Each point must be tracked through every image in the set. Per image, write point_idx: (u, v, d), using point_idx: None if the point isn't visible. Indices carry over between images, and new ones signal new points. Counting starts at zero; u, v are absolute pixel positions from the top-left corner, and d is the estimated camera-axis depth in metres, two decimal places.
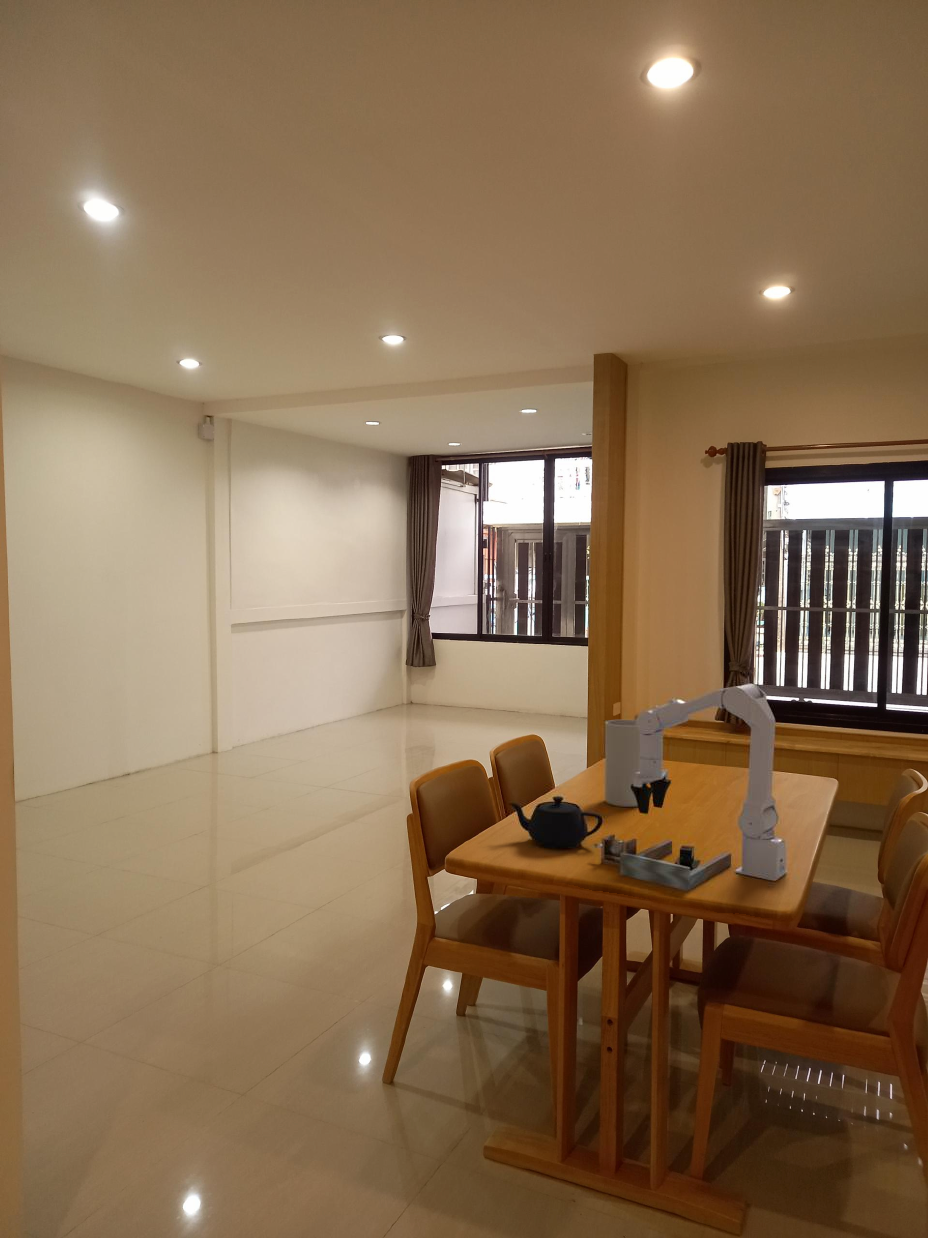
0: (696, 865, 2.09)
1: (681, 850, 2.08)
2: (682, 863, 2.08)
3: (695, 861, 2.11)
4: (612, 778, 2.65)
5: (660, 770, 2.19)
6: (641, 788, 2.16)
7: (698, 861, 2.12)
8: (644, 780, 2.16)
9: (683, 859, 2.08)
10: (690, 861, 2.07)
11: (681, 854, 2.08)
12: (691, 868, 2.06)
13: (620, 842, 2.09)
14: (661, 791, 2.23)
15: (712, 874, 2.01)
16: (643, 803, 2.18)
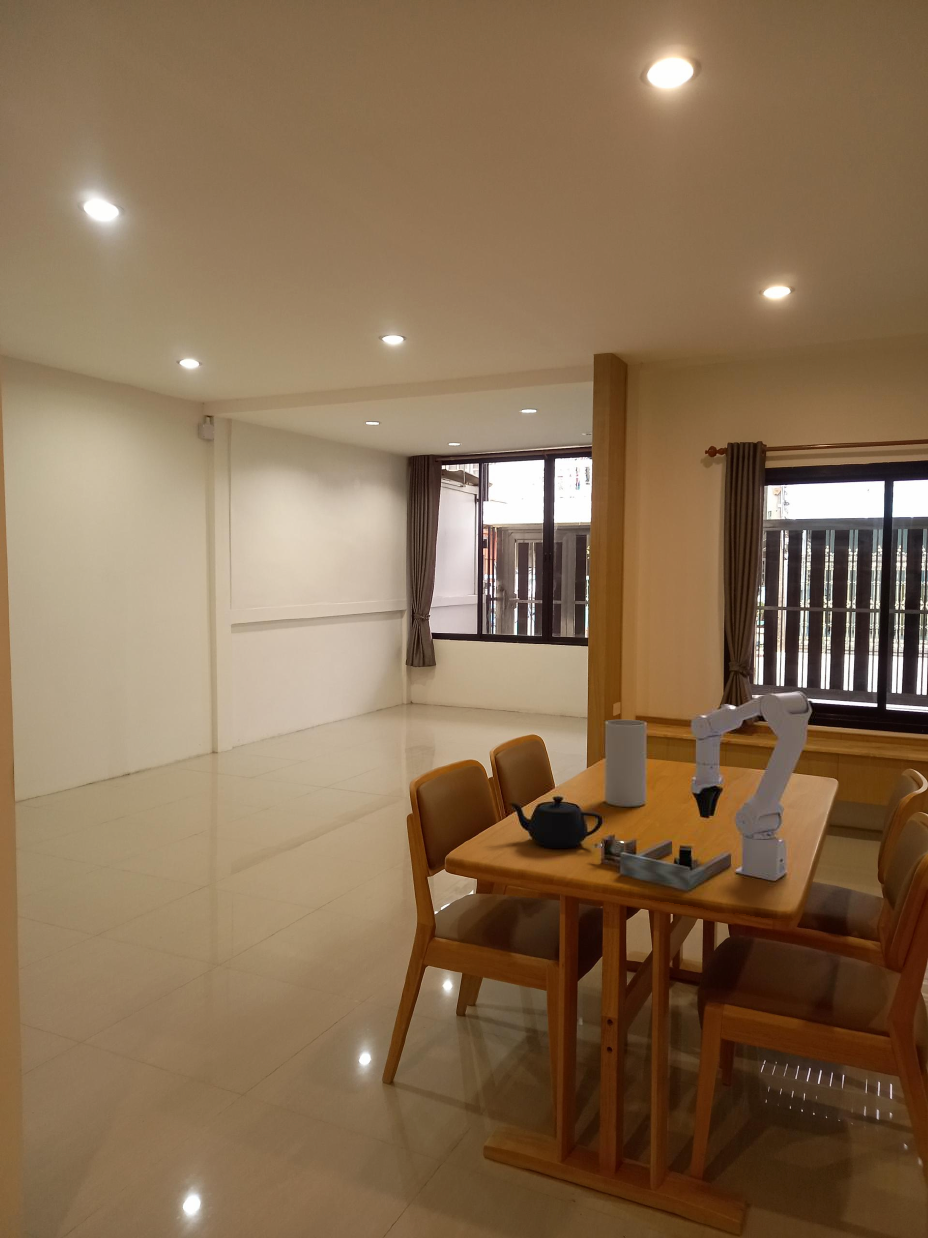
0: (695, 865, 2.09)
1: (680, 850, 2.08)
2: (682, 863, 2.08)
3: (693, 861, 2.11)
4: (612, 778, 2.65)
5: (717, 776, 2.15)
6: (703, 792, 2.14)
7: (696, 860, 2.12)
8: (702, 786, 2.12)
9: (683, 859, 2.08)
10: (690, 861, 2.07)
11: (681, 854, 2.08)
12: (691, 868, 2.06)
13: (620, 842, 2.09)
14: (713, 799, 2.18)
15: (712, 874, 2.01)
16: (704, 807, 2.16)
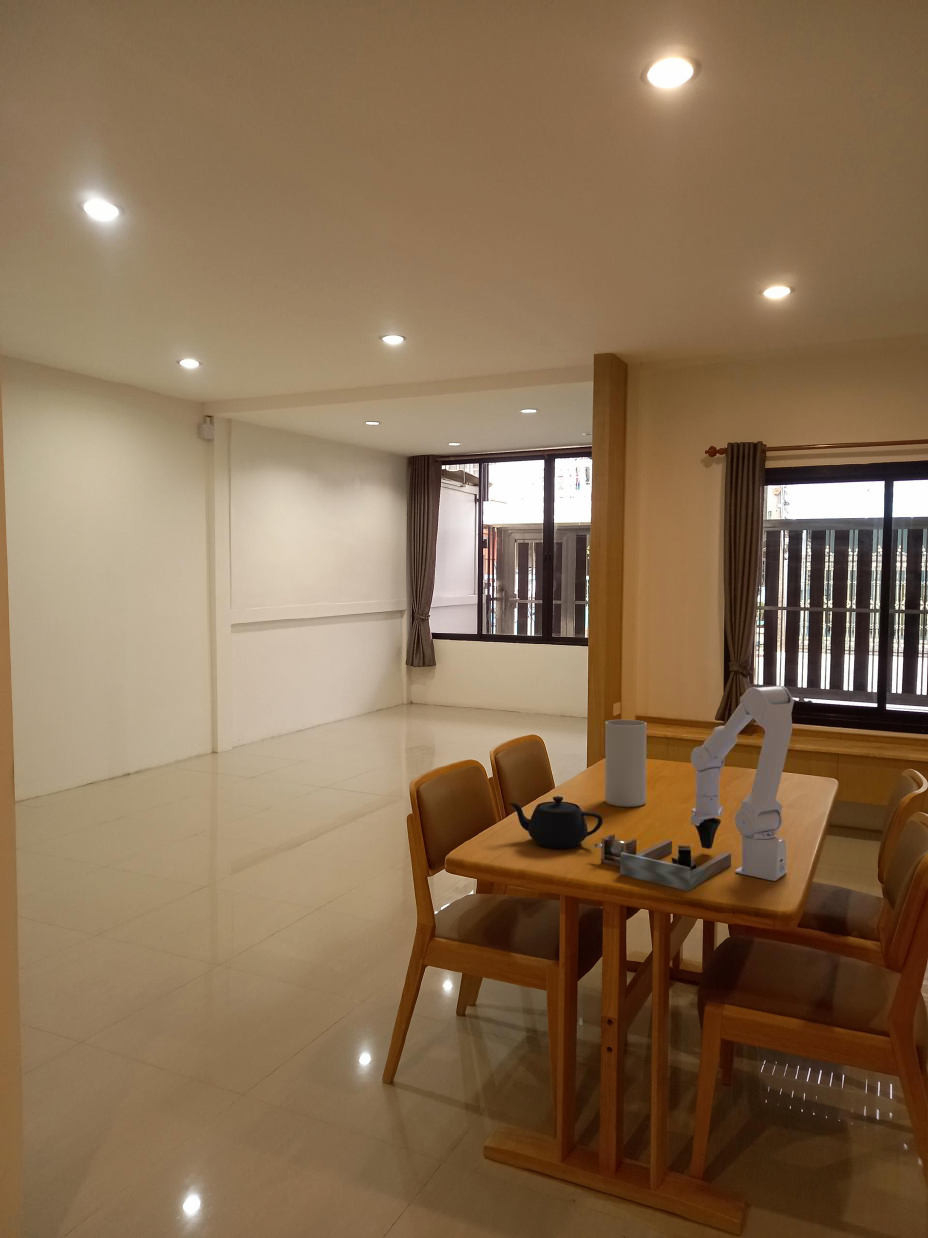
0: (694, 864, 2.09)
1: (680, 850, 2.08)
2: (682, 863, 2.08)
3: (691, 860, 2.12)
4: (612, 778, 2.65)
5: (717, 807, 2.16)
6: (704, 823, 2.15)
7: (693, 860, 2.12)
8: (701, 818, 2.13)
9: (682, 859, 2.08)
10: (689, 861, 2.08)
11: (680, 854, 2.08)
12: (691, 868, 2.06)
13: (620, 842, 2.09)
14: None
15: (712, 874, 2.01)
16: (706, 838, 2.17)
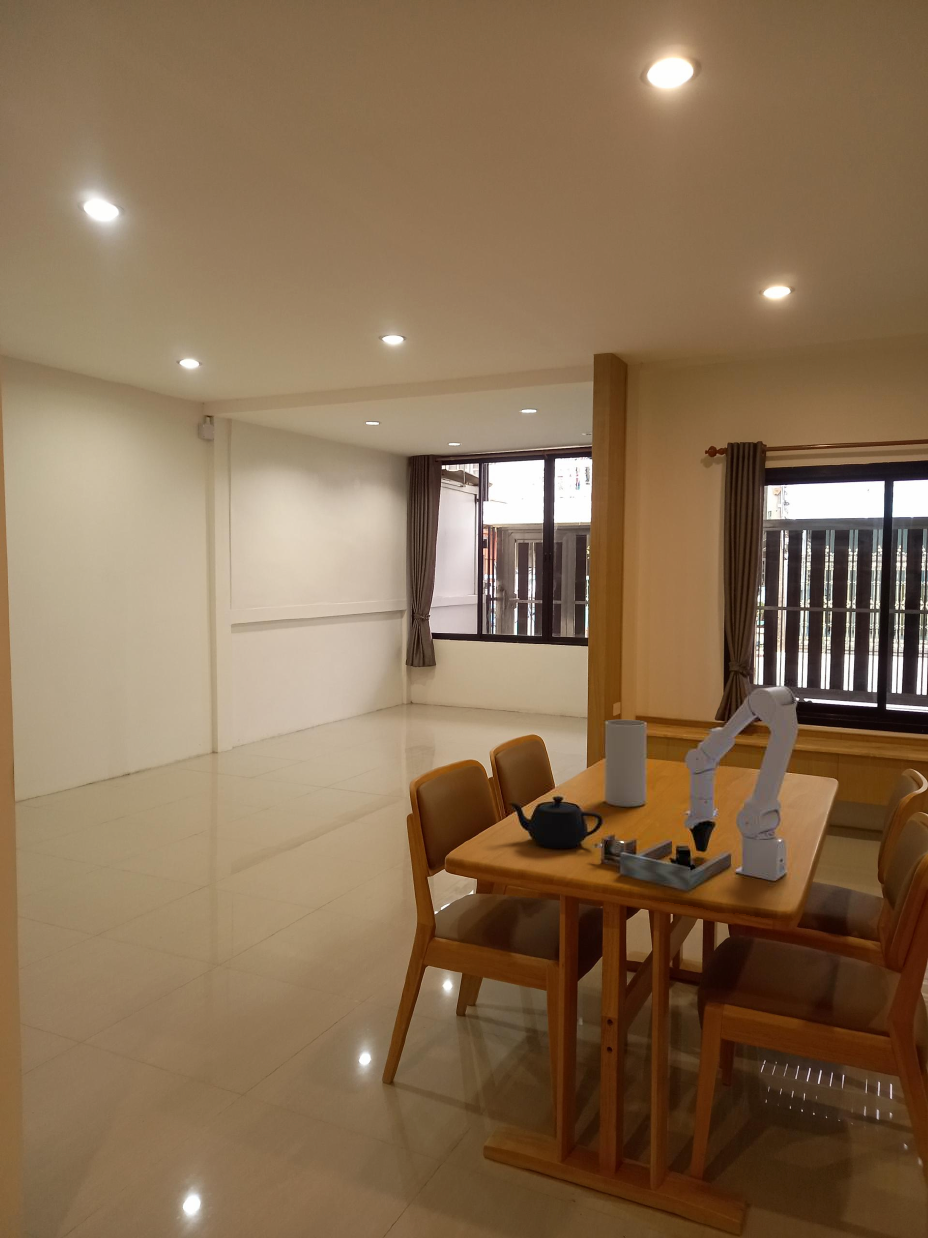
0: (693, 864, 2.09)
1: (679, 850, 2.08)
2: (681, 863, 2.08)
3: None
4: (612, 778, 2.65)
5: (711, 810, 2.13)
6: (699, 826, 2.13)
7: (691, 860, 2.13)
8: (695, 821, 2.10)
9: (682, 859, 2.08)
10: (689, 861, 2.08)
11: (680, 854, 2.08)
12: (691, 867, 2.06)
13: (620, 842, 2.09)
14: None
15: (712, 874, 2.01)
16: (700, 841, 2.15)
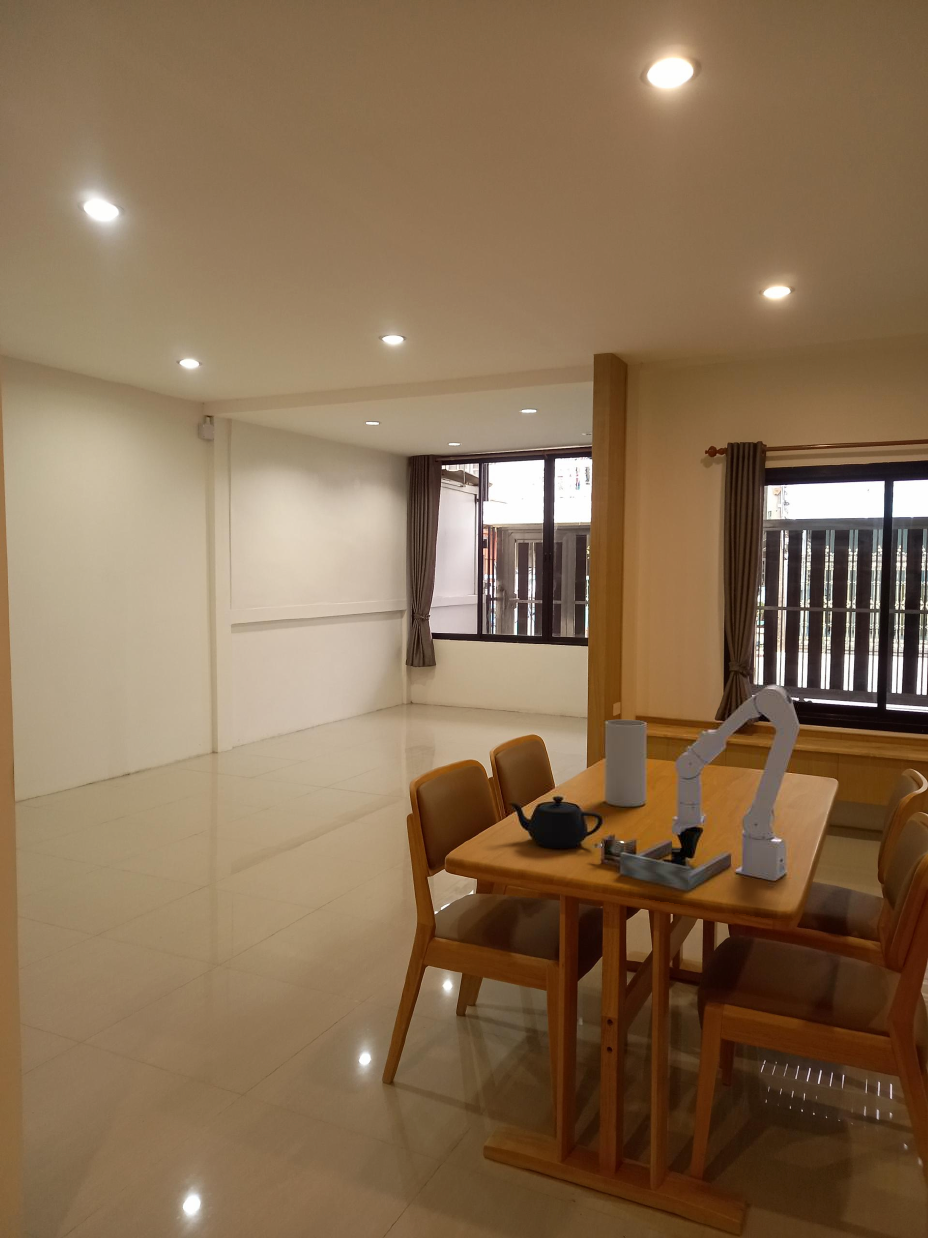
0: (688, 866, 2.07)
1: (675, 852, 2.06)
2: None
3: None
4: (612, 778, 2.65)
5: (699, 816, 2.08)
6: (686, 832, 2.08)
7: (686, 862, 2.11)
8: (682, 827, 2.05)
9: (677, 861, 2.06)
10: (684, 863, 2.06)
11: (675, 856, 2.06)
12: None
13: (620, 842, 2.09)
14: None
15: (712, 874, 2.01)
16: (688, 847, 2.10)
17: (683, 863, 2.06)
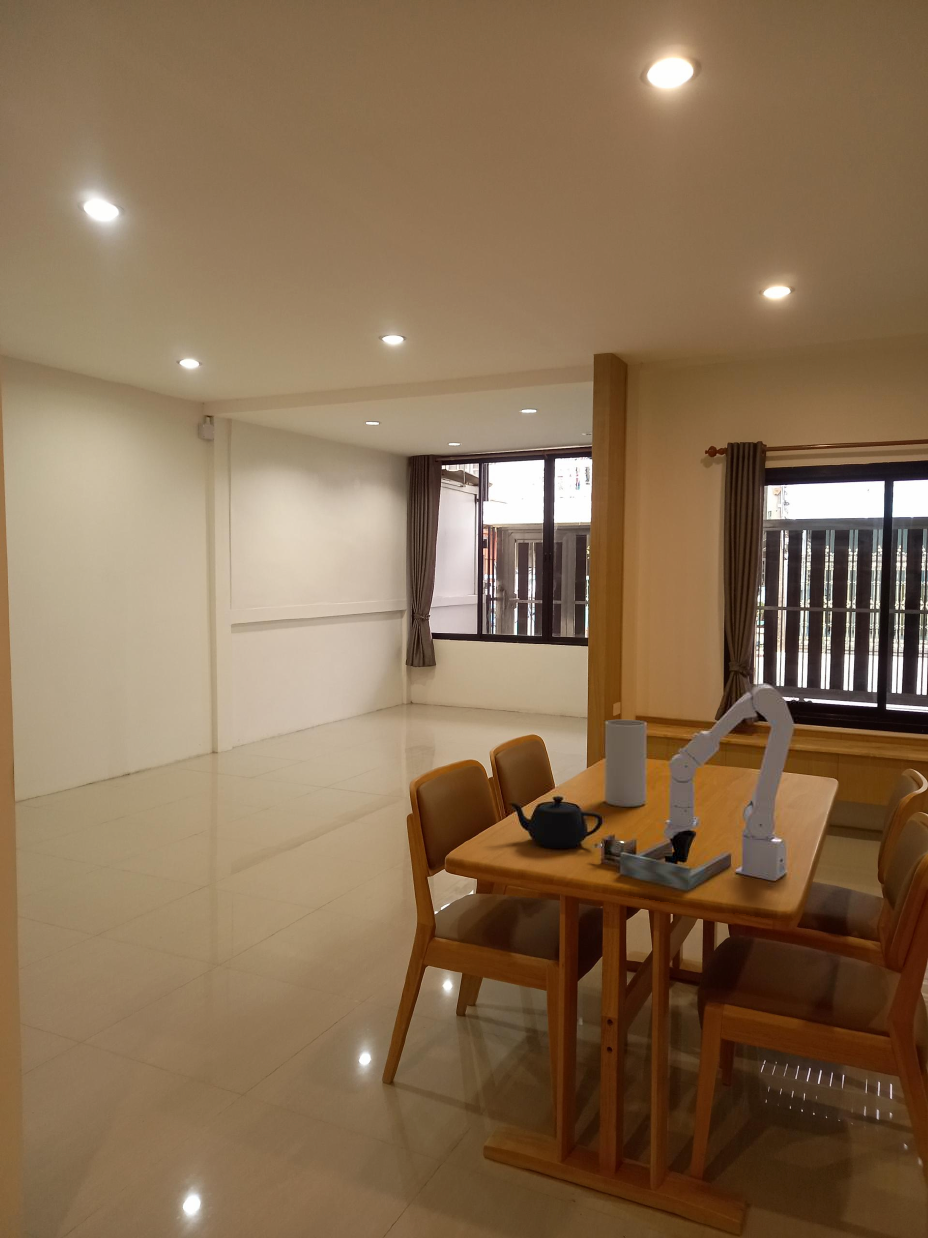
0: None
1: (666, 856, 2.03)
2: None
3: None
4: (612, 778, 2.65)
5: (692, 819, 2.05)
6: (679, 836, 2.05)
7: None
8: (675, 831, 2.02)
9: None
10: None
11: (667, 861, 2.03)
12: None
13: (620, 842, 2.09)
14: None
15: (712, 874, 2.01)
16: (680, 851, 2.07)
17: None
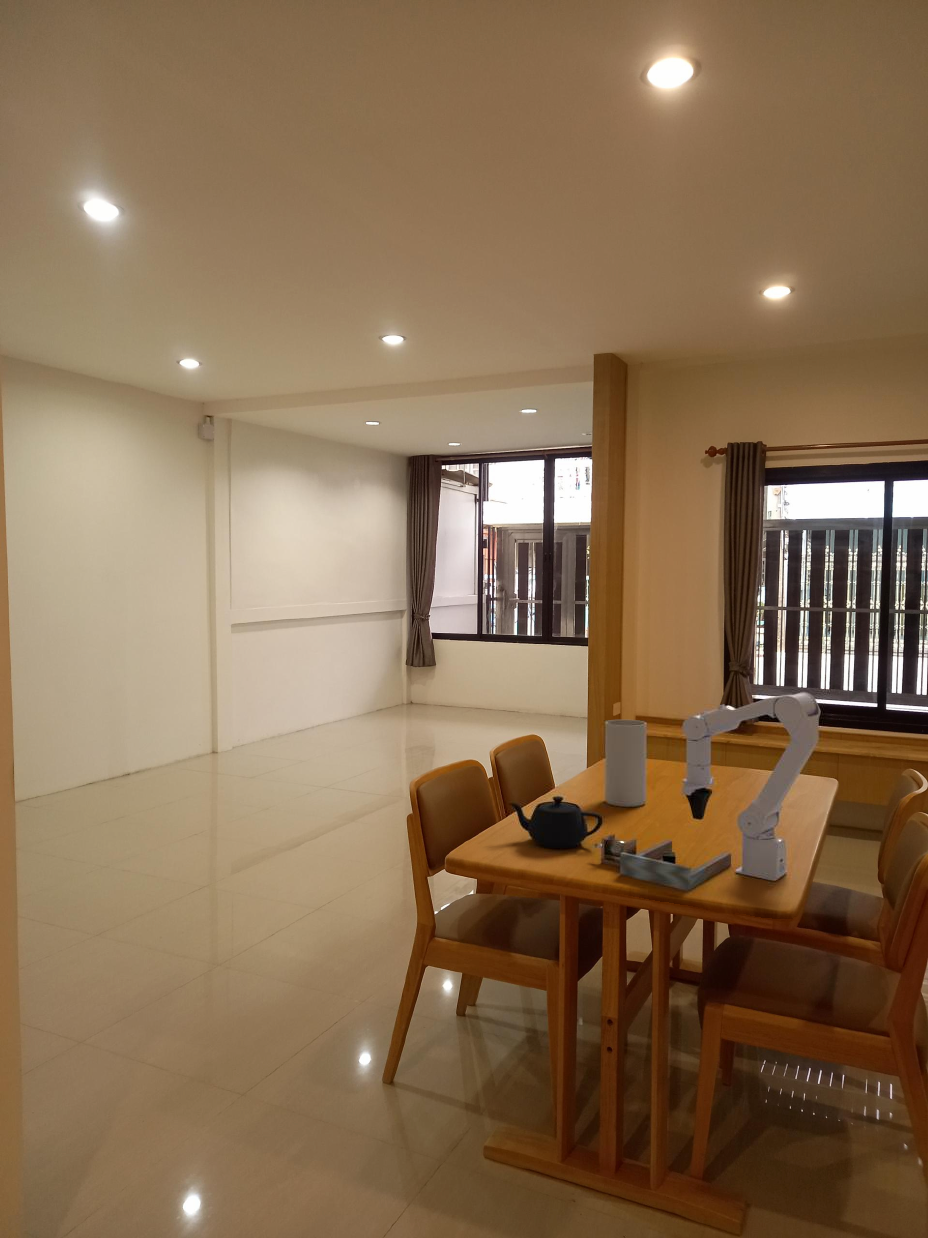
0: None
1: (664, 856, 2.03)
2: None
3: None
4: (612, 778, 2.65)
5: (708, 777, 2.11)
6: (696, 793, 2.11)
7: None
8: (693, 788, 2.08)
9: None
10: None
11: (665, 860, 2.03)
12: None
13: (620, 842, 2.09)
14: None
15: (712, 874, 2.01)
16: (697, 808, 2.13)
17: None
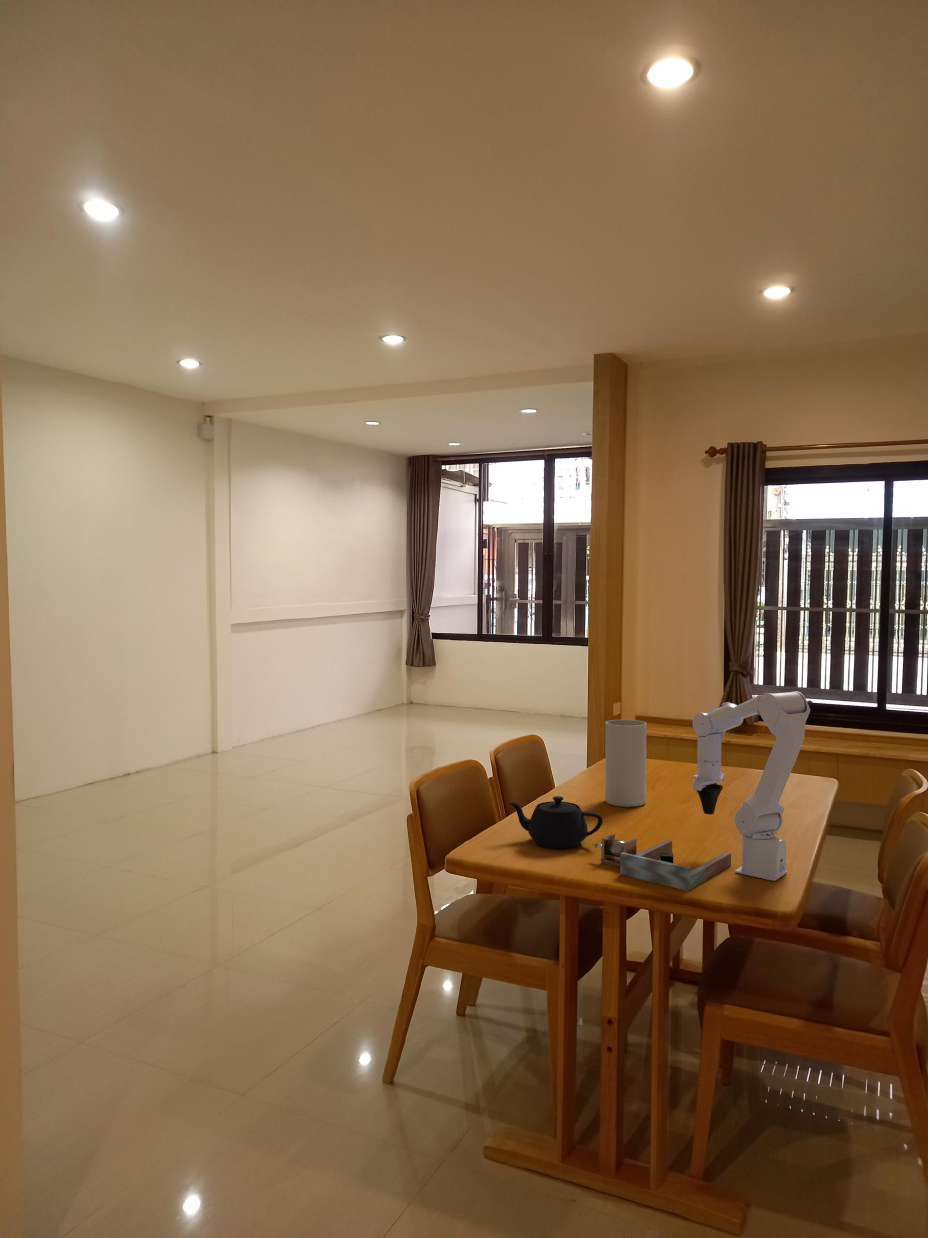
0: None
1: (662, 856, 2.03)
2: None
3: None
4: (612, 778, 2.65)
5: (719, 773, 2.16)
6: (706, 789, 2.16)
7: None
8: (703, 783, 2.13)
9: None
10: None
11: (662, 860, 2.03)
12: None
13: (620, 842, 2.09)
14: None
15: (712, 874, 2.01)
16: (708, 804, 2.18)
17: None
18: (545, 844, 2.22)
